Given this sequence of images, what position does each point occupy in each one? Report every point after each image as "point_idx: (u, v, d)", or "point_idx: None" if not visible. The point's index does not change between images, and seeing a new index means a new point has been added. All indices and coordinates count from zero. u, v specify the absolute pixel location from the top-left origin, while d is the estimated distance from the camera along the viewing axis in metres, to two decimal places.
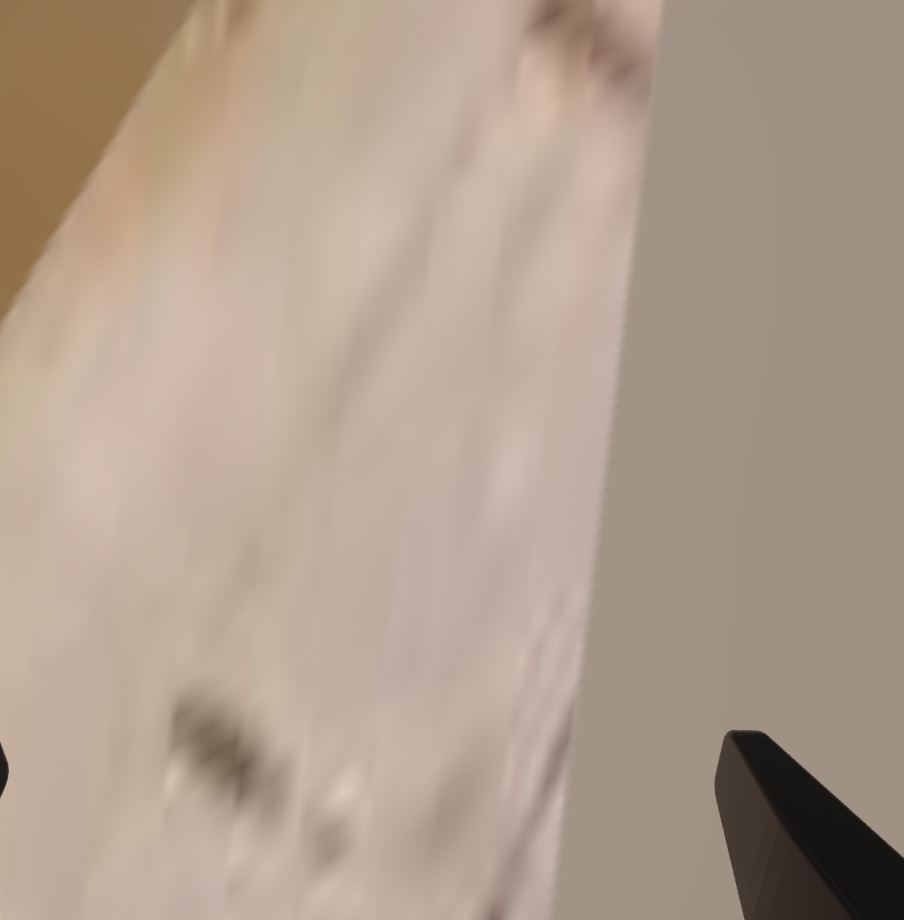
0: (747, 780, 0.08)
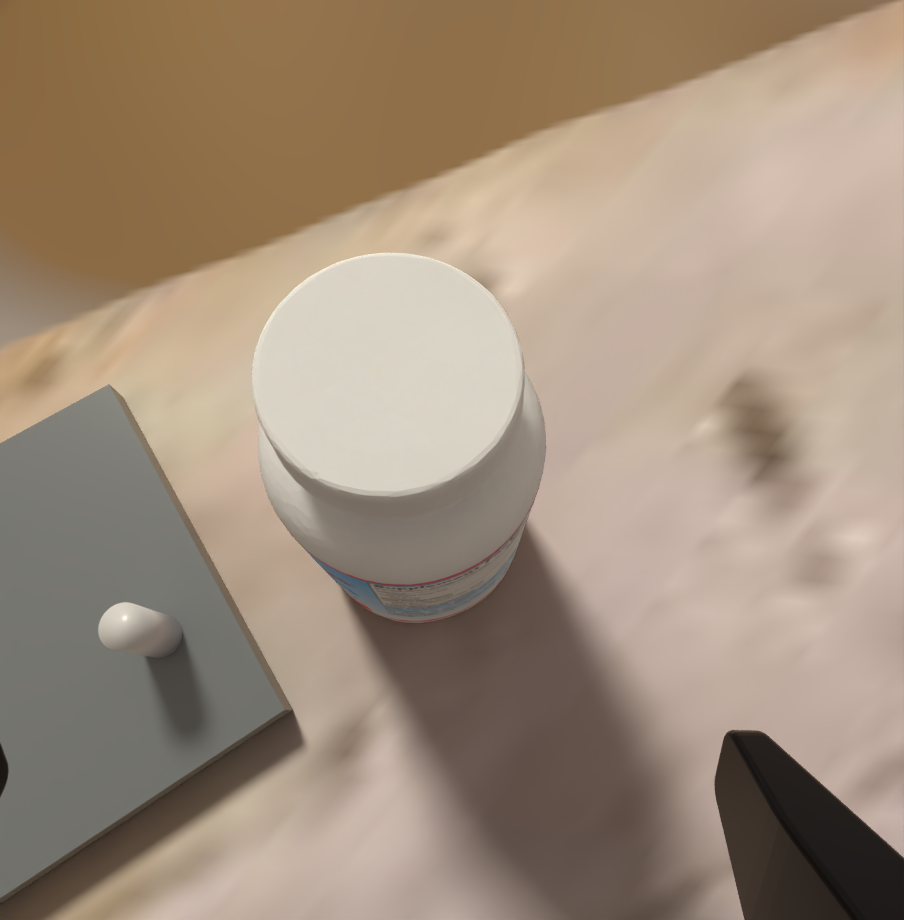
0: (748, 780, 0.08)
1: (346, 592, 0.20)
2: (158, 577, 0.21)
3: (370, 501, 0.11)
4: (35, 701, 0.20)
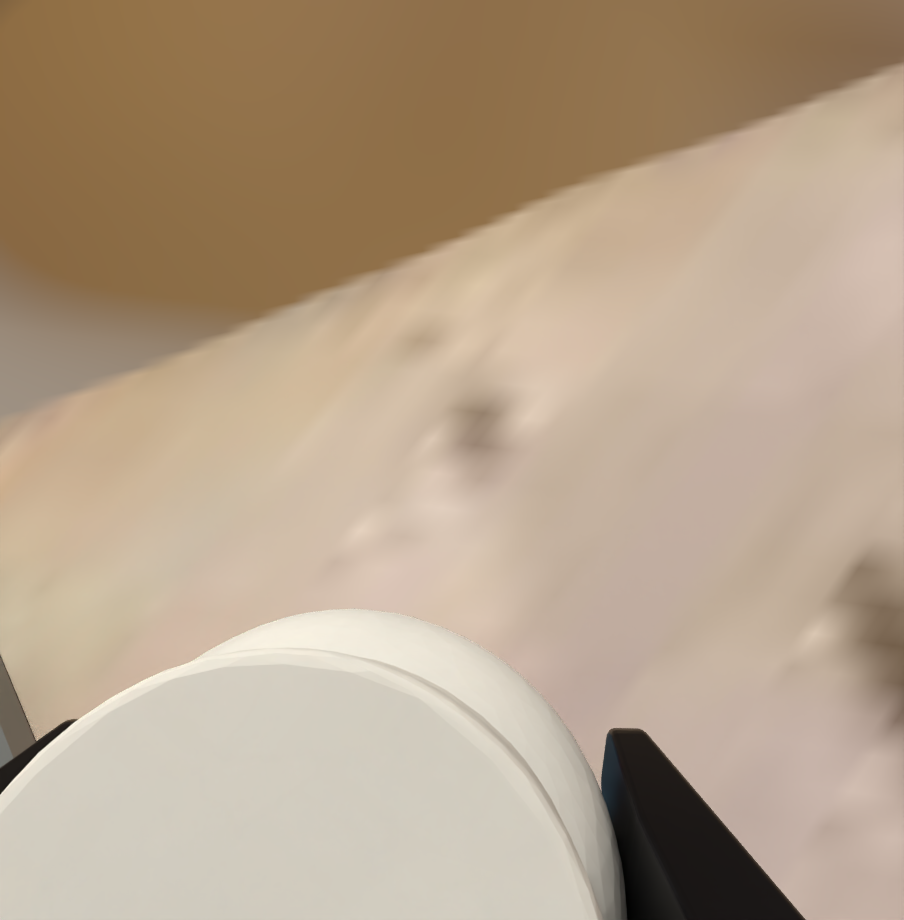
0: (619, 778, 0.08)
1: None
2: None
3: None
4: None
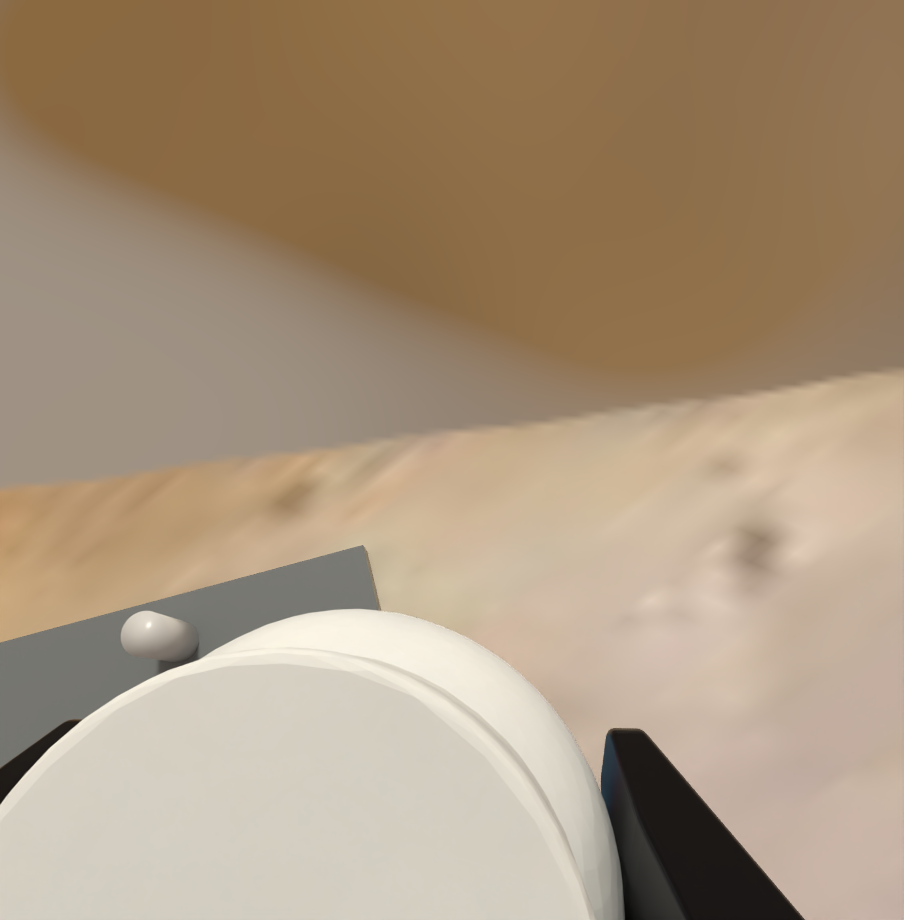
0: (618, 778, 0.08)
1: None
2: None
3: None
4: None
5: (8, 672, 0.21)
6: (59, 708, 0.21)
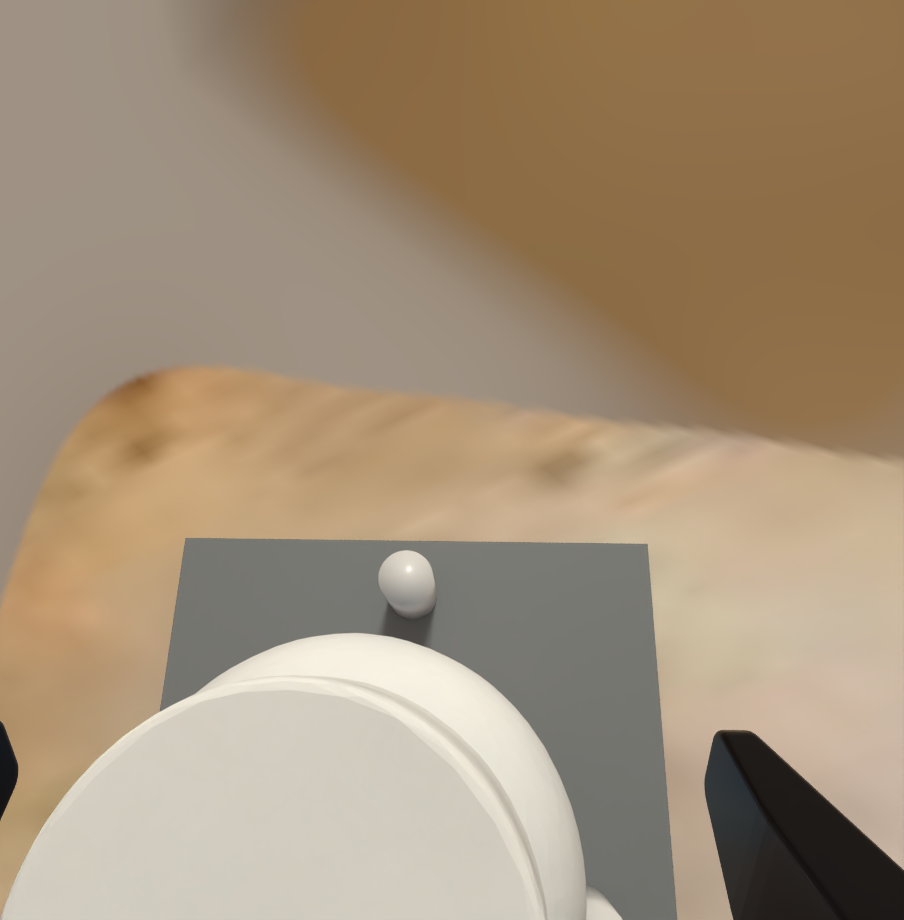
0: (736, 780, 0.08)
1: None
2: (609, 833, 0.16)
3: None
4: None
5: (217, 574, 0.18)
6: (265, 632, 0.18)
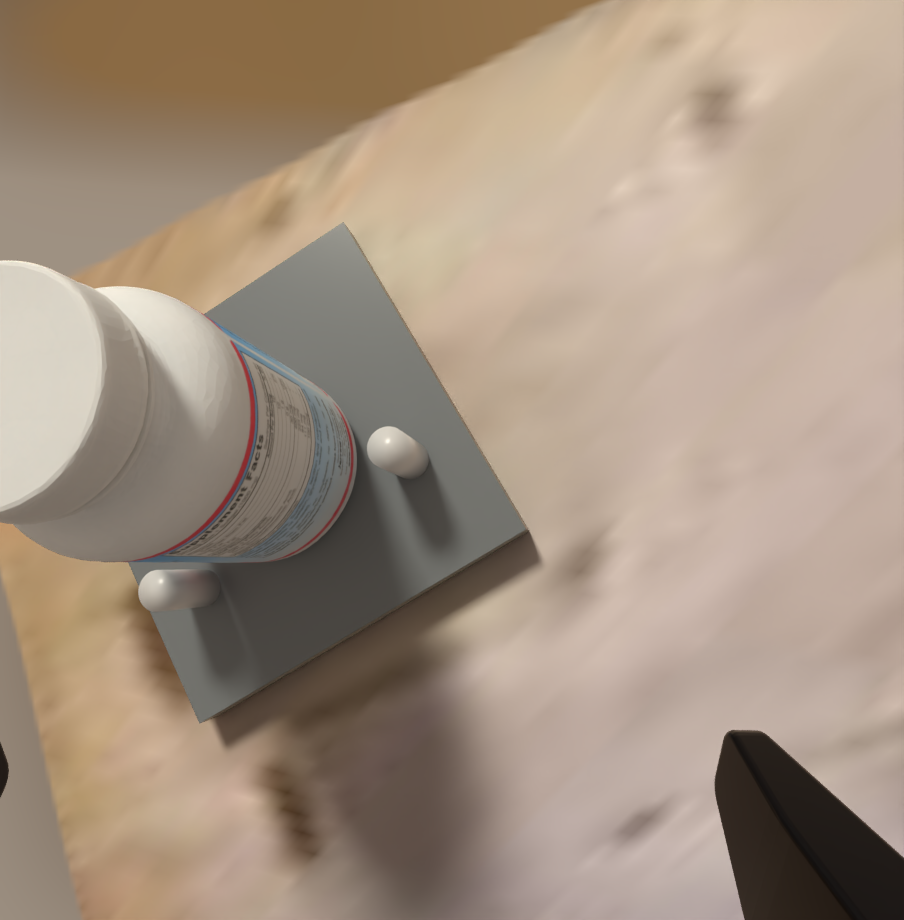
0: (747, 780, 0.08)
1: None
2: (403, 407, 0.22)
3: (31, 505, 0.12)
4: None
5: None
6: None
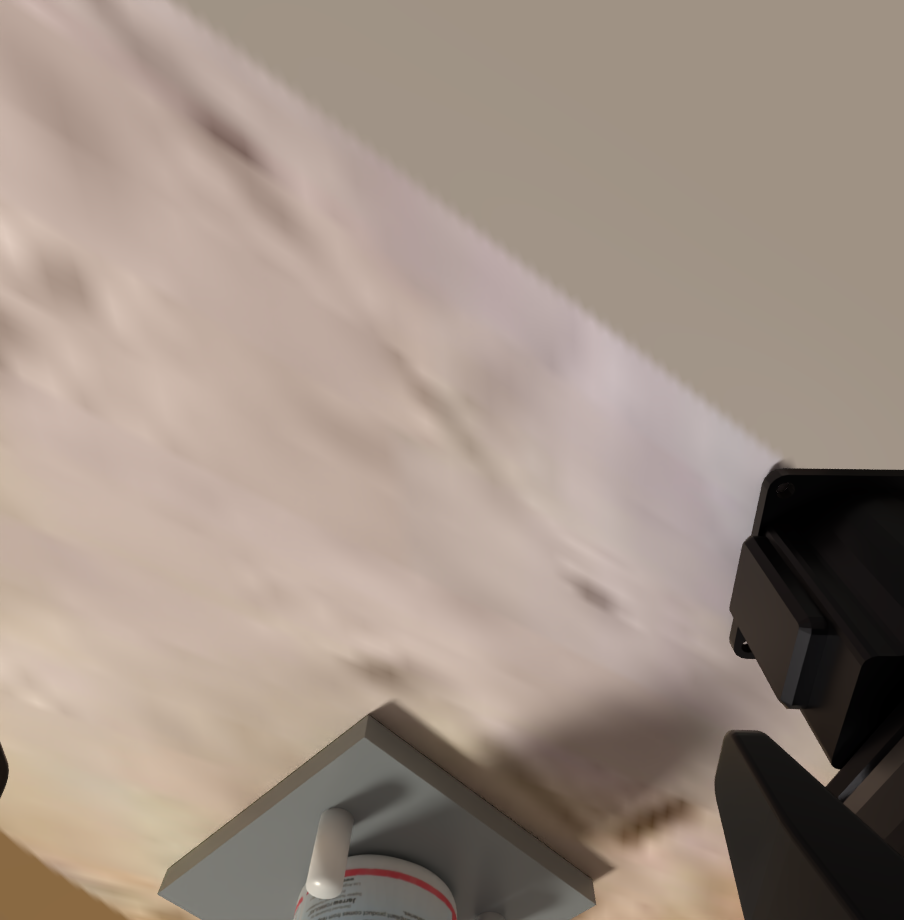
0: (747, 780, 0.08)
1: None
2: (294, 831, 0.26)
3: None
4: None
5: None
6: None
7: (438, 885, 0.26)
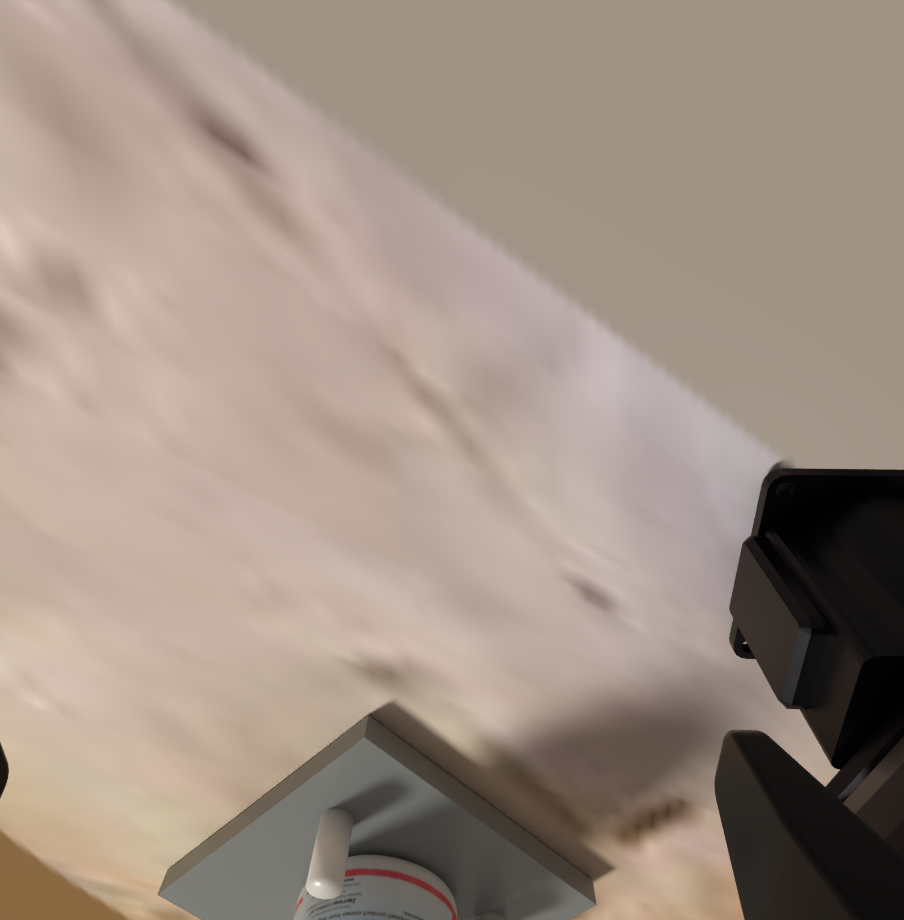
0: (747, 780, 0.08)
1: None
2: (294, 831, 0.26)
3: None
4: None
5: None
6: None
7: (438, 885, 0.26)
